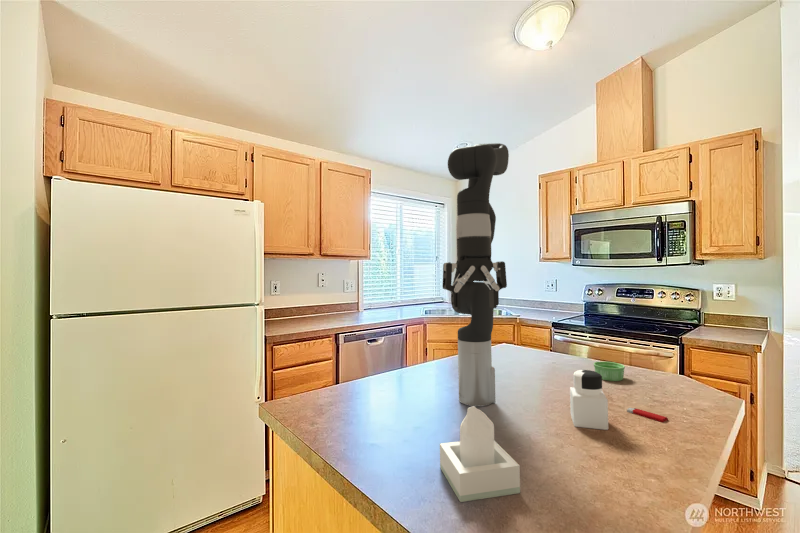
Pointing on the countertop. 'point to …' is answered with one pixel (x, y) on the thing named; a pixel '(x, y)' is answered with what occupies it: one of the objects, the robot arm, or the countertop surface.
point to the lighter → (647, 414)
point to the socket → (480, 474)
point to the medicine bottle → (588, 401)
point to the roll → (476, 439)
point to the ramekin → (610, 370)
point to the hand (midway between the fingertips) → (475, 308)
